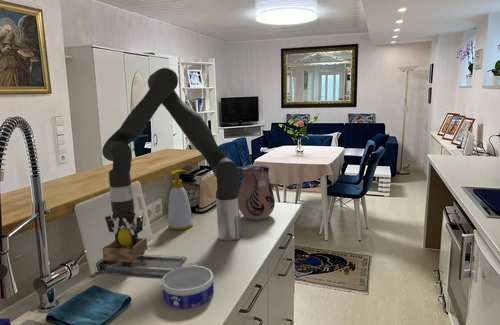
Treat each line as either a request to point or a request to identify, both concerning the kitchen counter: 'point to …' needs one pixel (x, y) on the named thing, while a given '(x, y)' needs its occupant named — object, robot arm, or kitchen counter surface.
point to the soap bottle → (179, 205)
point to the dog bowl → (187, 286)
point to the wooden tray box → (124, 251)
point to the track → (143, 265)
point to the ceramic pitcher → (255, 192)
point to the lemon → (125, 236)
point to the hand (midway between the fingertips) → (127, 243)
